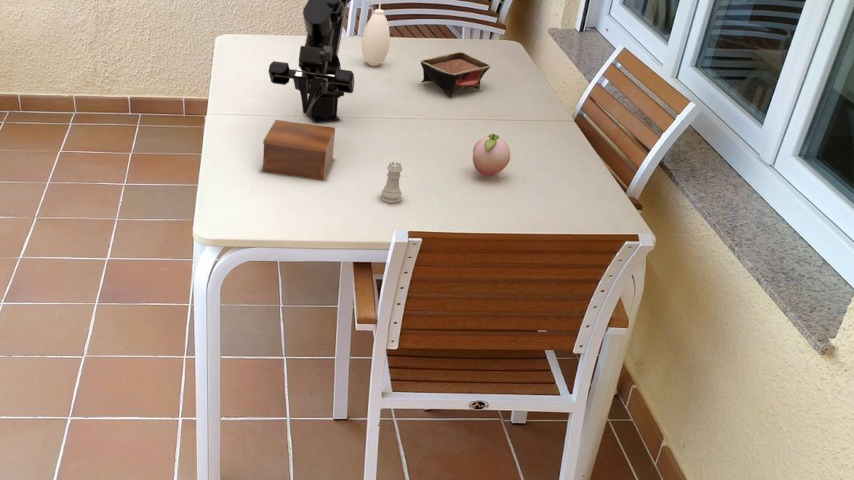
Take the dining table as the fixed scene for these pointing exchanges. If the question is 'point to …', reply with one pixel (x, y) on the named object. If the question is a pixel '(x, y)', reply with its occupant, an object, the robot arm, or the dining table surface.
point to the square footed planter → (454, 71)
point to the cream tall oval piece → (376, 38)
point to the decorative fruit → (490, 155)
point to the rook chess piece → (392, 184)
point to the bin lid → (299, 135)
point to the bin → (297, 161)
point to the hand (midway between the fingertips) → (304, 112)
